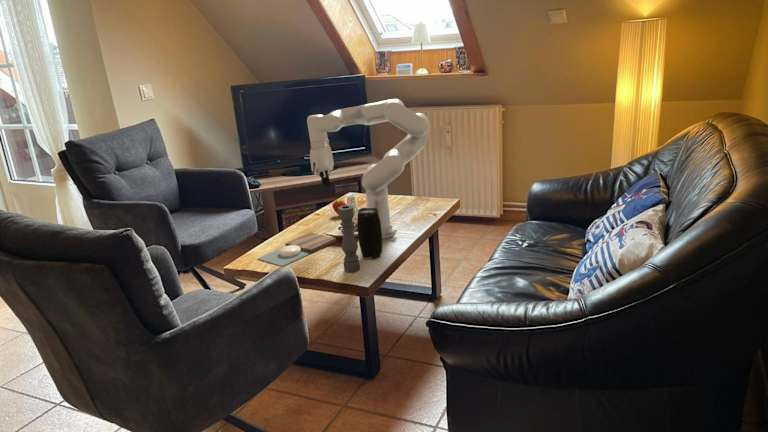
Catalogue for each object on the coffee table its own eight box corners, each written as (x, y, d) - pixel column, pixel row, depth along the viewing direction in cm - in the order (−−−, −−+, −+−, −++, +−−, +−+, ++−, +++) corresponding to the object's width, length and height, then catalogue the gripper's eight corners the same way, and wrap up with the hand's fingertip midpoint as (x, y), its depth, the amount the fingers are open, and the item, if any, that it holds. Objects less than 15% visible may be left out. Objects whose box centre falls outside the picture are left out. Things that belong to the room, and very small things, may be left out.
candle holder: (344, 267, 215) (337, 205, 207) (360, 265, 215) (353, 204, 207) (344, 273, 209) (337, 210, 201) (360, 272, 209) (354, 208, 201)
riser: (336, 241, 242) (335, 238, 242) (311, 253, 232) (310, 249, 231) (310, 236, 252) (310, 232, 252) (285, 247, 242) (285, 243, 241)
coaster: (305, 251, 233) (304, 247, 233) (288, 258, 227) (288, 254, 226) (291, 247, 239) (290, 243, 238) (275, 254, 233) (274, 250, 232)
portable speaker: (358, 254, 226) (353, 208, 220) (380, 250, 228) (376, 205, 222) (363, 262, 218) (358, 214, 212) (386, 257, 220) (381, 211, 214)
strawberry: (337, 213, 282) (335, 194, 279) (350, 214, 278) (347, 195, 275) (330, 217, 277) (328, 197, 274) (343, 218, 273) (341, 199, 270)
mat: (310, 254, 231) (310, 253, 231) (282, 266, 220) (282, 265, 220) (285, 247, 241) (284, 246, 241) (257, 259, 230) (257, 258, 230)
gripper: (325, 140, 243) (331, 180, 249) (301, 147, 232) (308, 190, 238) (337, 140, 239) (344, 181, 244) (313, 148, 228) (320, 191, 233)
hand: (326, 185), depth 241 cm, fingers closed
